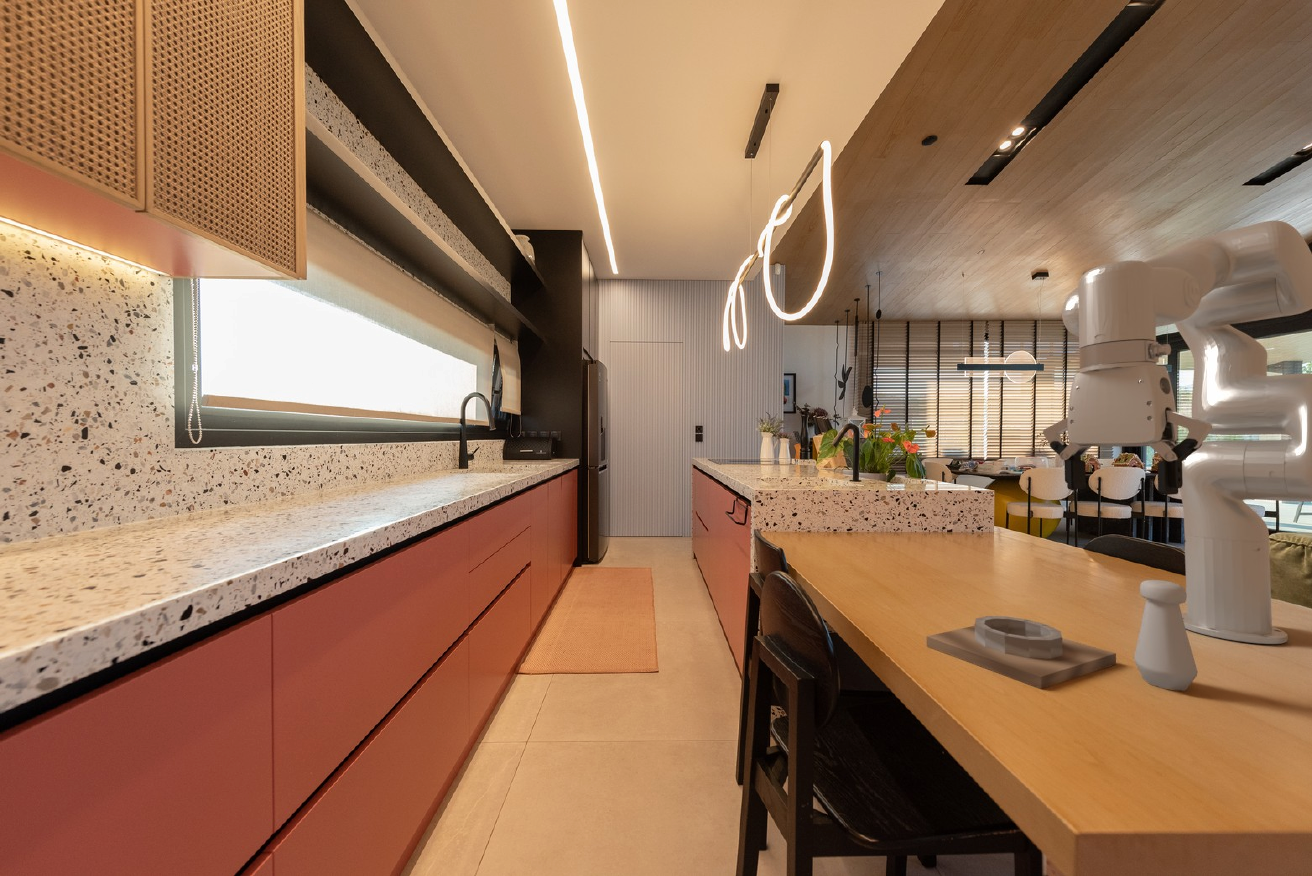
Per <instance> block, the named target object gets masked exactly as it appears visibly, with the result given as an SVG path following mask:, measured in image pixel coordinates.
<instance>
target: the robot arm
mask: <svg viewBox="0 0 1312 876" xmlns="http://www.w3.org/2000/svg"><path fill="white" fill-rule="evenodd" d="M1310 310H1312V251H1311V250H1310V247H1309V245H1308V244H1307V241H1305V238H1304V237H1303V236H1302V234H1301V233H1300V231H1299V230H1297V228H1295V227H1294V226H1292V225H1291V224H1290V223H1288V222H1285V221H1282V220H1267V221H1263V222H1257V223H1254V224H1251V225H1247V226H1242V227H1239V228H1235V229H1231V230H1227V231H1223V232H1220V233H1214V234H1212V235H1211V234H1210V235H1207V236H1204V237H1200V238H1196V239H1193V240H1189V241H1188V242H1185V243H1183V244H1181V245H1179V246H1177V247H1174V248H1173V249H1172V250H1171V249H1170V251H1168V252H1166V253H1164V254H1161V255H1159V256H1156V257H1153V258H1151V259H1150V258H1149V259H1147V260H1144V261H1142V260H1121V261H1115V262H1110V263H1104V264H1102V265H1099V266H1097V267H1093V268H1090V269H1089V270H1087V271H1086V272H1085V273H1083V274H1082V275H1081V276H1080V278H1079V281H1078V287H1075V289H1073V290H1072V291H1071V292H1069V294H1068V296H1067V297H1066V298H1065V301H1064V303H1063V306H1062V311H1061V316H1062V317H1061V318H1062V322H1063V325H1064V326H1065V328H1066V330H1067V331H1068V332H1069V333H1070V334H1072V335H1073V336H1075V337H1078V345H1079V346H1078V347H1079V350H1078V351H1079V372H1078V373H1075V374H1074V377H1073V380H1072V384H1071V387H1070V393H1069V399H1068V400H1069V401H1068V410H1067V417H1066V418H1063V419H1062V420H1059V421H1057V422H1056V423H1054V424H1051V425H1050V426H1048V427H1046V428H1045V429H1043V430H1042V434H1043V436H1044V437H1045V439H1046V441H1047V442H1048V443H1049V447H1050V449H1051V450H1052V451H1054V452H1055V453H1056V454H1057V455H1058V456H1059V458H1060V459H1061V461H1064V481H1065V483H1066V485H1067V486H1066V488H1067V489H1068V490H1071V491H1072V490H1073V491H1074V490H1085V489H1086V487H1087V482H1086V481H1087V476H1086V475H1087V472H1086V471H1087V468H1086V461H1085V460H1083V459H1082V457H1083V456H1084V455H1085V453H1087V451H1089V450H1090V448H1092V447H1150V448H1151V449H1153V450H1154V452H1155V453H1157V454H1158V455H1160V457H1161V459H1162V460H1159V461H1158V462H1157V492H1158V494H1160V495H1164V496H1165V495H1166V496H1168V495H1179V491H1180V495H1181V502H1182V509H1183V527H1184V528H1183V529H1184V564H1185V588H1186V589H1185V590H1186V594H1187V598H1186V612H1181V613H1182V617H1183V621H1184V625H1185V629H1186V630H1187V631H1192V632H1194V633H1197V634H1198V633H1199V634H1201V635H1206V636H1208V637H1209V636H1210V637H1214V638H1219V639H1223V640H1228V641H1229V640H1230V641H1234V642H1241V643H1250V644H1263V645H1281V644H1285V643H1287V642H1288V640H1289V639H1288V634H1287V632H1285V631H1284V630H1283V629H1280V628H1277V627H1276V626H1273V619H1272V618H1273V617H1272V613H1273V612H1272V588H1271V559H1270V555H1271V553H1270V534H1269V533H1270V532H1269V529H1268V526H1267V524H1266V522H1265V520H1264V519H1263V518H1262V517H1261V516H1260V515H1259V514H1258V513H1257V512H1256V511H1254V510H1253V509H1252V508H1251V507H1250V506H1249V505H1248V504H1246V502H1245V501H1246V500H1248V501H1249V500H1251V501H1252V500H1253V501H1255V500H1261V501H1277V502H1279V501H1281V502H1298V503H1299V502H1303V503H1306V502H1307V503H1308V502H1309V503H1312V373H1305V372H1303V373H1291V374H1290V373H1288V374H1277V375H1267V374H1268V371H1267V369H1268V352H1267V349H1266V348H1265V346H1264V345H1262V344H1261V343H1260V342H1258V341H1257V340H1256V338H1253V337H1252V336H1250V335H1248V334H1247V333H1245V332H1243V331H1241V330H1240V329H1239V330H1238V329H1237V328H1235V327H1234V326H1232V325H1233V324H1241V323H1247V322H1248V323H1249V322H1254V321H1255V322H1256V321H1260V320H1261V321H1262V320H1268V319H1275V318H1281V317H1282V318H1283V317H1290V316H1294V315H1299V314H1303V313H1305V312H1308V311H1310ZM1169 325H1175V327H1176V328H1177V331H1178V333H1179V334H1180V335H1181V337H1182V339H1183V340H1184V342H1185V344H1186V345H1187V347H1188V349H1189V350H1190V352H1191V354H1192V358H1193V363H1194V364H1193V380H1192V394H1191V395H1192V396H1191V416H1189V415H1185V414H1183V413H1179V412H1177V409H1176V402H1175V396H1174V392H1173V391H1174V390H1173V387H1172V382H1171V379H1170V376H1169V375H1170V374H1169V371H1168V370H1167V367H1166V366H1165V365H1158V364H1157V363H1159V362H1160V360H1159V358H1161V357H1163V356H1169V355H1171V352H1172V348H1171V345H1170V343H1165V344H1161V343H1159V342H1158V341H1157V335H1156V334H1157V332H1156V329H1157V328H1159V327H1163V326H1164V327H1165V326H1169ZM1179 427H1182V428H1184V429H1187V431H1188V434H1187V436H1186V437H1185V439H1183V440H1181V441H1180V442H1179V443H1177V444H1176V443H1175V442H1176V441H1178V440H1177V439H1178V437H1179ZM1066 431H1067V439H1068V442H1069V443H1068V444H1067V443H1066V442H1064V441H1063V439H1062V436H1061V434H1062V433H1064V432H1066ZM1209 434H1210V435H1221V436H1236V435H1237V436H1242V435H1243V436H1244V435H1246V436H1247V435H1249V436H1250V435H1254V436H1255V435H1257V436H1258V435H1259V436H1260V435H1287V436H1290V437H1292V438H1291V439H1269V440H1268V439H1267V440H1266V439H1261V440H1258V439H1256V440H1254V439H1244V440H1243V439H1238V440H1236V439H1235V440H1234V439H1233V440H1231V439H1230V440H1229V439H1228V440H1227V439H1226V440H1225V439H1224V440H1207V441H1205V440H1206V438H1207V437H1208V436H1209Z"/></svg>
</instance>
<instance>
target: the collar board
mask: <svg viewBox="0 0 1312 876" xmlns="http://www.w3.org/2000/svg"><path fill="white" fill-rule="evenodd" d="M926 647H927V648H930V649H933V650H936V651H938V652H941V653H944V654H946V655H949V656H952V657H955V658H957V659H959V660H962V661H965V662H968V663H970V664H973V665H976V666H978V667H981V668H984V669H987V670H989V671H991V672H992V671H993V672H994V673H998V674H1000V675H1002V676H1005V677H1008V678H1010V679H1013V680H1015V681H1019V682H1022V683H1024V684H1027V685H1030V686H1032V687H1034V688H1038V689H1041V690H1043V689H1045V688H1048V687H1052V686H1054V685H1057V684H1060V683H1063V682H1066V681H1069V680H1072V679H1075V678H1078V677H1082V676H1084V675H1088V674H1091V673H1094V672H1097V671H1100V670H1103V669H1106V668H1109V667H1112V666H1115V665H1117V653H1116V652H1112V651H1109V650H1106V649H1102V648H1099V647H1096V646H1092V645H1088V644H1084V643H1081V642H1078V641H1074V640H1070V639H1067V638H1064V637H1063V635H1062V631H1061V630H1059V629H1057V628H1055V627H1053V626H1050V625H1049V624H1045V623H1042V622H1039V621H1038V622H1037V621H1034V620H1031V619H1025V618H1018V617H1012V616H1006V615H1005V616H1002V615H1000V616H999V615H987V616H982V617H981V616H980V617H976V618H975V620H974V625H972V626H968V627H963V628H958V629H954V630H950V631H944V632H941V633H936V634H931V635H927V636H926Z"/></svg>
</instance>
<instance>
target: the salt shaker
mask: <svg viewBox="0 0 1312 876" xmlns="http://www.w3.org/2000/svg"><path fill="white" fill-rule="evenodd" d="M1139 593H1140V595H1141V597H1142V598H1143V599H1145V604H1144V609H1143V614H1142V617H1141V619H1142V620H1141V624H1140V628H1139V633H1138V638H1137V641H1136V648H1135V652H1134V657H1133V658H1134V663H1135V665H1136V667H1137V669H1138V671H1139V672H1140V676H1141V677H1142V679H1143V680H1144V681H1145V682H1146V683H1148V684H1149V685H1152V686H1154V687H1157V688H1161V689H1164V688H1166V689H1165V690H1167V689H1172V690H1171V691H1177V690H1182V691H1181V692H1186V690H1187V689H1188V688H1189V687H1190V685H1191V684H1192V683H1193V682H1194V680H1195V679H1196V678H1197V677H1198V669H1197V665H1196V662H1195V658H1194V655H1193V651H1192V647H1191V645H1190V641H1189V637H1188V634H1187V629H1185V625H1184V621H1183V617H1182V613H1183V612H1182V610H1181V606H1180V605H1182V604H1185V603H1187V594H1186V589H1185V588H1184V587H1183V586H1182V585H1181V584H1179V583H1176V582H1173V581H1167V580H1161V579H1147V580H1143V581H1142V582H1141V583H1140V585H1139Z"/></svg>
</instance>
